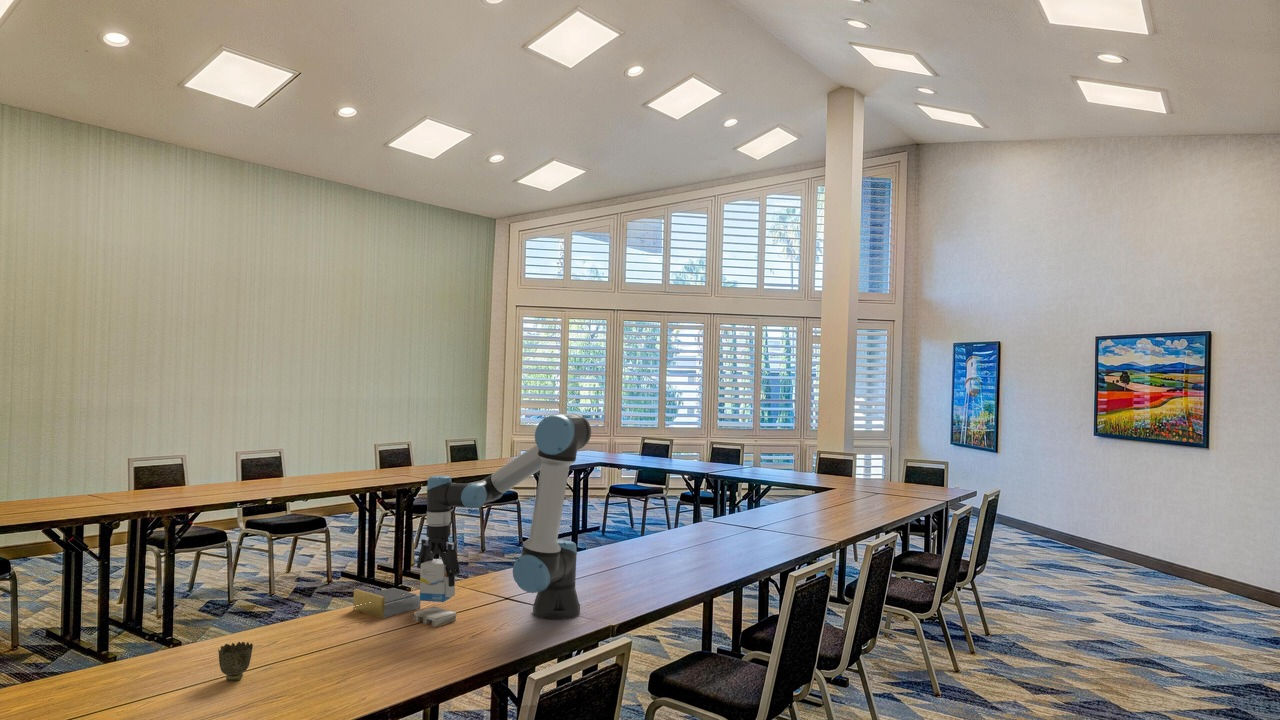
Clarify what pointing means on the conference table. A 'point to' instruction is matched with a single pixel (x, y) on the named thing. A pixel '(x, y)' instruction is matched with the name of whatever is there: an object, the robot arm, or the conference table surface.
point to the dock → (385, 602)
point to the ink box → (433, 581)
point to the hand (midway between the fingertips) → (437, 593)
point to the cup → (235, 660)
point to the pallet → (435, 616)
